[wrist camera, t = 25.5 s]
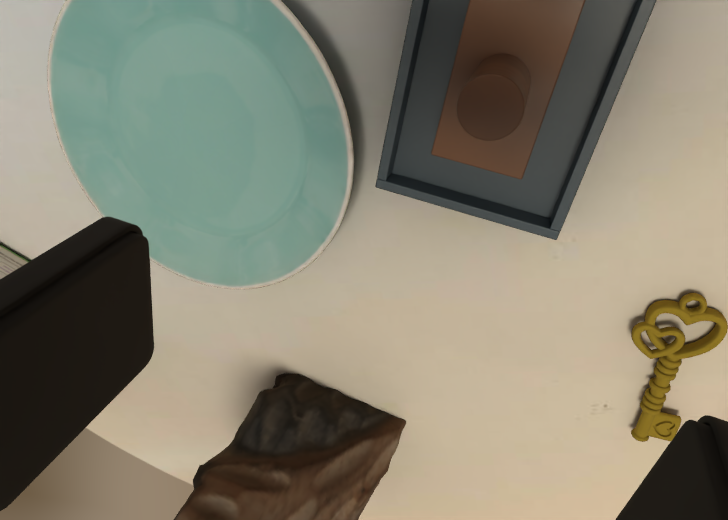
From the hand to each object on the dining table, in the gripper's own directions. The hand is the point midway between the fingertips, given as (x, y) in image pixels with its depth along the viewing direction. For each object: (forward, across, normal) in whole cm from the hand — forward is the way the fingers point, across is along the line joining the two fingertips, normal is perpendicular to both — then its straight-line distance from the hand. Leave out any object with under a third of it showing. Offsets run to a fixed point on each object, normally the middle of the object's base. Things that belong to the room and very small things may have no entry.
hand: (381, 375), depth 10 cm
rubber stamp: (+25, 0, 0) cm, 25 cm away
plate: (+26, +18, +8) cm, 33 cm away
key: (+26, -15, +15) cm, 34 cm away
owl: (+26, +5, +32) cm, 42 cm away
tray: (+26, 0, 0) cm, 26 cm away
